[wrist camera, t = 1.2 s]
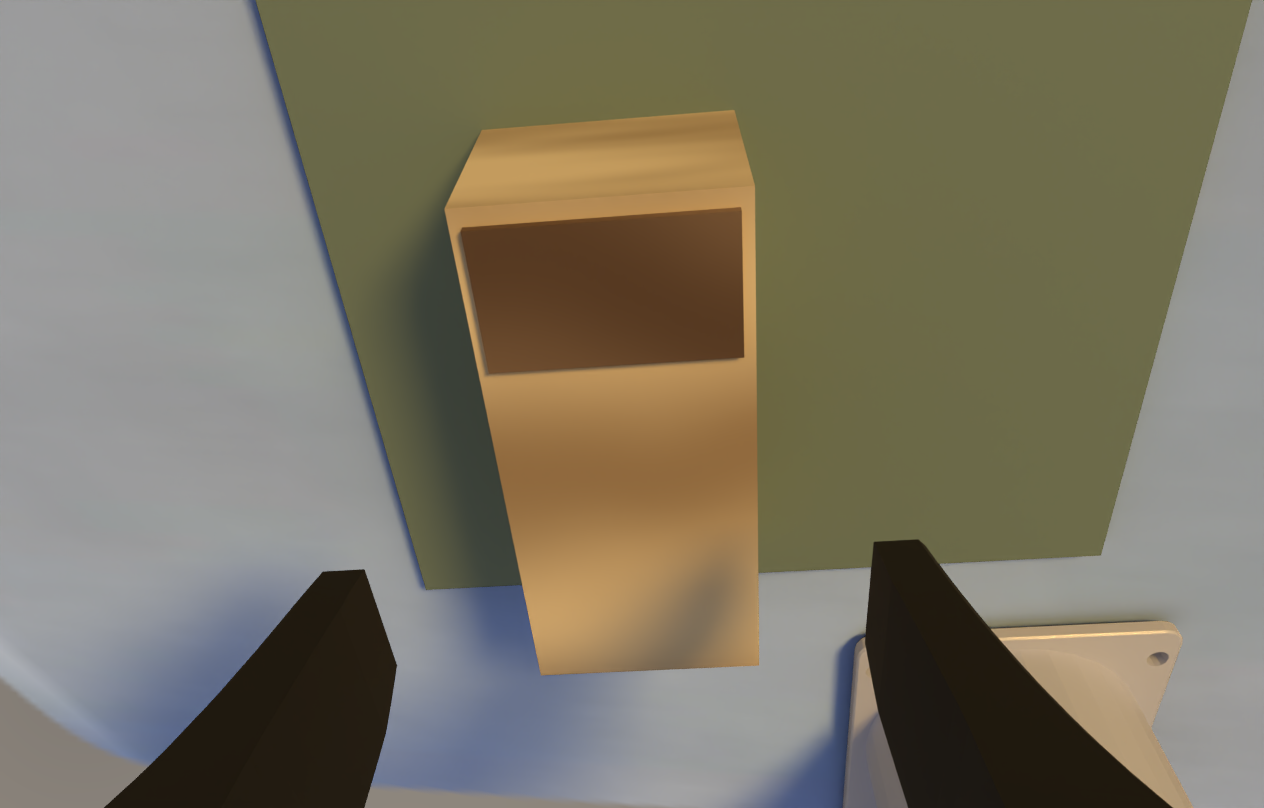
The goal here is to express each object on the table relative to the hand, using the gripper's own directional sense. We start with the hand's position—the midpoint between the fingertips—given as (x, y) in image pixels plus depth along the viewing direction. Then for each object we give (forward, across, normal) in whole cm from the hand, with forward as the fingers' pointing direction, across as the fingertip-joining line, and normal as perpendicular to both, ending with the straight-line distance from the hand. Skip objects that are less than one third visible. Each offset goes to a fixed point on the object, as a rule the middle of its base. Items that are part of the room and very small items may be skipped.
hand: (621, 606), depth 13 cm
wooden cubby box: (+7, 0, 0) cm, 7 cm away
